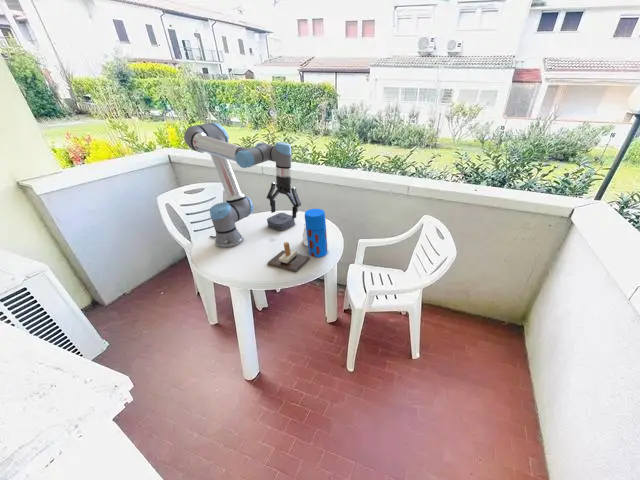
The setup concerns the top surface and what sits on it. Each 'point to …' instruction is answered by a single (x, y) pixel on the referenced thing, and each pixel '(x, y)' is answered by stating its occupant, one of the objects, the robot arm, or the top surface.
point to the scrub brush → (287, 254)
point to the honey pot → (305, 236)
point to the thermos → (316, 232)
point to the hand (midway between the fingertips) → (283, 215)
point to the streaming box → (280, 221)
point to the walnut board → (293, 265)
